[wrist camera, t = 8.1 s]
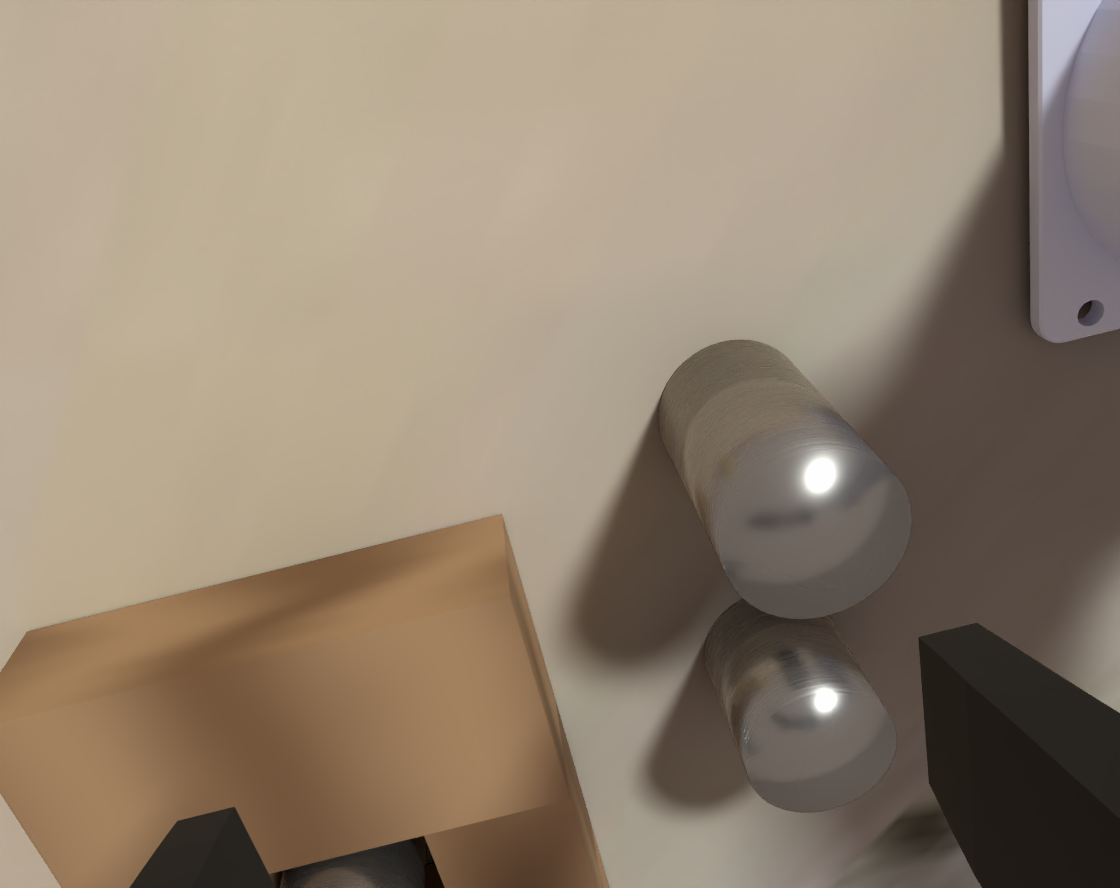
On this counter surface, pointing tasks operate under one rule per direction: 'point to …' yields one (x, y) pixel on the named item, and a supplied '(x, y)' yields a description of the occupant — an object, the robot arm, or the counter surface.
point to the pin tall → (365, 868)
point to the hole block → (306, 721)
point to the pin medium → (782, 482)
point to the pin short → (798, 709)
